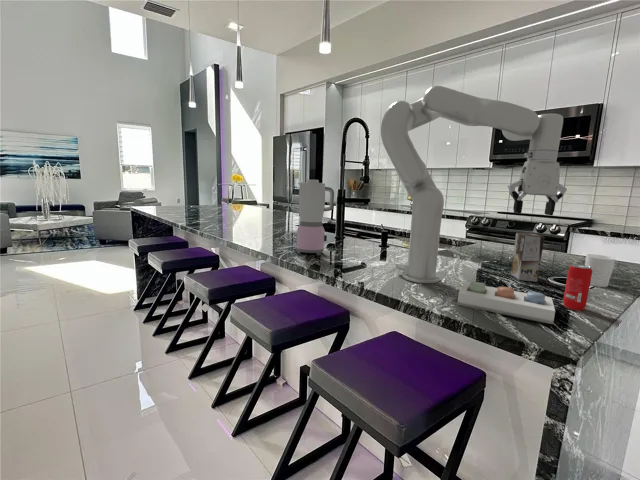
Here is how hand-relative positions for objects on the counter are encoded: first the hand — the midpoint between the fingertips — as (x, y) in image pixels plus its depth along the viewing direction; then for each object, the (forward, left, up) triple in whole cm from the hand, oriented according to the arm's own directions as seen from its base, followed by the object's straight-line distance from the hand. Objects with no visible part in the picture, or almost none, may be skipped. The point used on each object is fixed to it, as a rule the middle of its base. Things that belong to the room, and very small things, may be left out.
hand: (532, 214), depth 107 cm
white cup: (+23, +25, -25) cm, 42 cm away
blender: (-80, +3, -25) cm, 84 cm away
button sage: (-11, -22, -22) cm, 33 cm away
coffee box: (+1, +18, -25) cm, 31 cm away
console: (-4, -22, -25) cm, 33 cm away
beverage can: (+13, -10, -25) cm, 30 cm away
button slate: (+3, -22, -22) cm, 31 cm away
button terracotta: (-4, -22, -22) cm, 31 cm away
